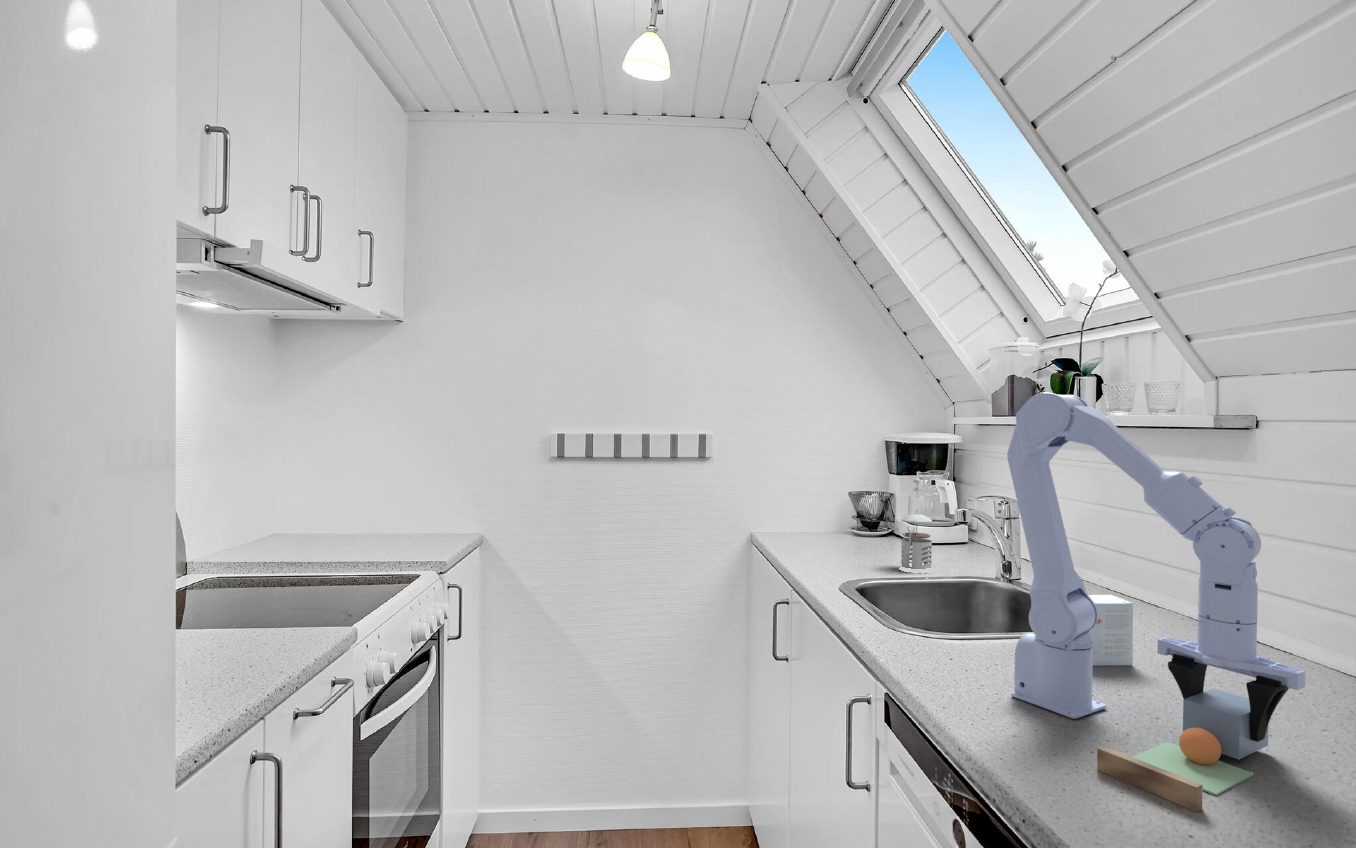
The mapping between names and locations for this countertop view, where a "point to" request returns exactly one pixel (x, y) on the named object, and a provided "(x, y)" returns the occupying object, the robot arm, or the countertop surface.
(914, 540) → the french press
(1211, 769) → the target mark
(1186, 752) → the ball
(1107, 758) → the wall
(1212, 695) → the grey-blue rectangular brick
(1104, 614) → the small box
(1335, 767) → the countertop surface
